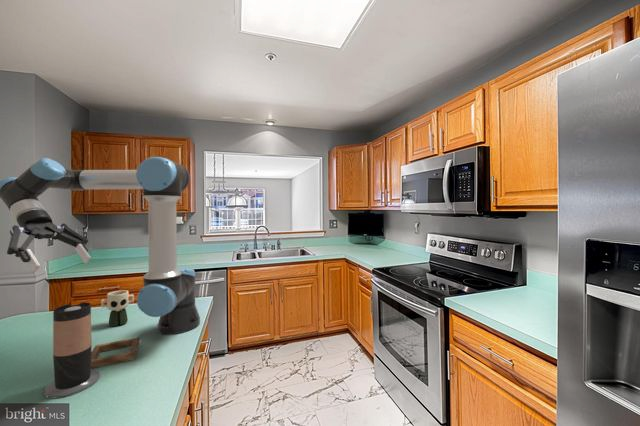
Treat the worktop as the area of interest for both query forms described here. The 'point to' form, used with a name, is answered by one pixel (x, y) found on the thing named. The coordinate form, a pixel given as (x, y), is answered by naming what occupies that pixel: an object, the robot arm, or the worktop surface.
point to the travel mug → (72, 345)
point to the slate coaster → (54, 392)
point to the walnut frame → (114, 358)
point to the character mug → (117, 306)
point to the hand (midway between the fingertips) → (64, 264)
